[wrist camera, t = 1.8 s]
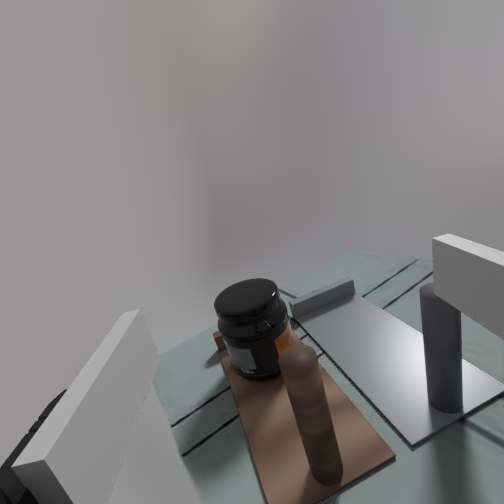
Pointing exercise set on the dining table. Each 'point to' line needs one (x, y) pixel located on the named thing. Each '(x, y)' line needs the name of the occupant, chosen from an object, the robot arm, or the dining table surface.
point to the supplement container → (254, 328)
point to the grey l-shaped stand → (398, 357)
